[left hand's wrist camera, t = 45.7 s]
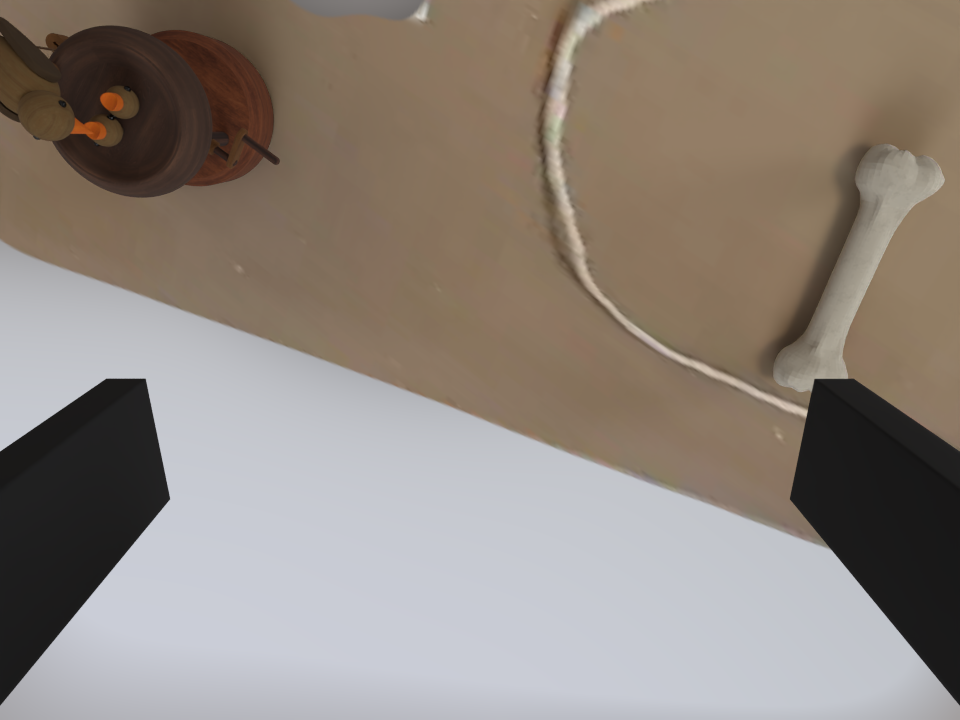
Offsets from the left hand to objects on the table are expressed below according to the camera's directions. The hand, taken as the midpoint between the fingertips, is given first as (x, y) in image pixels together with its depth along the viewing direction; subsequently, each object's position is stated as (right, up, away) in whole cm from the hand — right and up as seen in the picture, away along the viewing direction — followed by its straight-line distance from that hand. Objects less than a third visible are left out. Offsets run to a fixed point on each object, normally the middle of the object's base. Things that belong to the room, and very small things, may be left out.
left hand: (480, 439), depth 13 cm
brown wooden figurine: (-20, +20, +36) cm, 46 cm away
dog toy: (+30, +9, +40) cm, 51 cm away
